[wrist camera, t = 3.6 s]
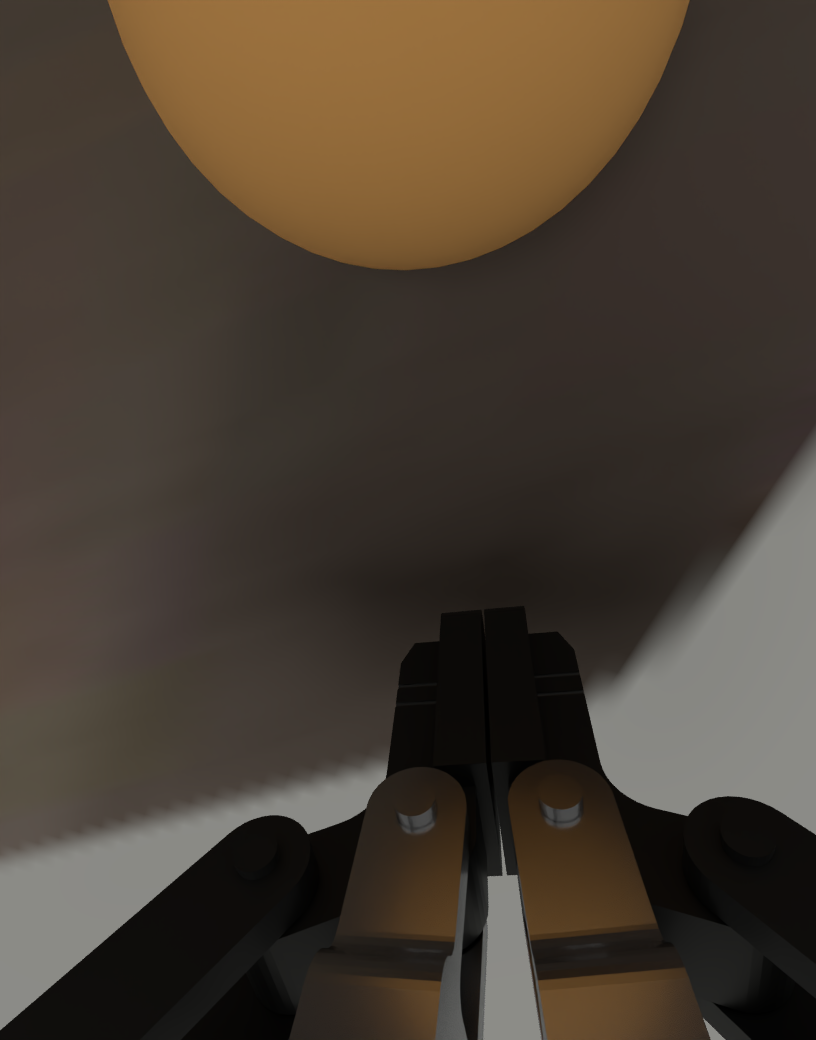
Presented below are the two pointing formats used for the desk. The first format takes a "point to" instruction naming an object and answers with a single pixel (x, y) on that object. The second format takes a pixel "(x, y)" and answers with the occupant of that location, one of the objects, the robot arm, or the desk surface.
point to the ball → (399, 111)
